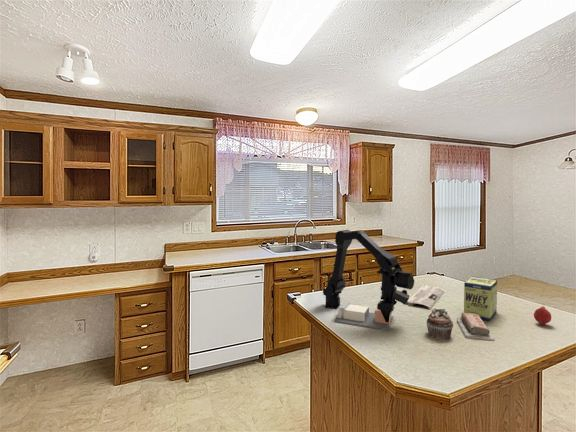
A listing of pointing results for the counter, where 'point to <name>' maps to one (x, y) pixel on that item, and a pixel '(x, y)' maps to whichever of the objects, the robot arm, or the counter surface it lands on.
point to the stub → (380, 317)
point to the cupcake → (439, 324)
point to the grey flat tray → (359, 317)
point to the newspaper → (426, 296)
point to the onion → (542, 315)
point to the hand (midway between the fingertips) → (388, 319)
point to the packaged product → (474, 327)
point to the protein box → (481, 297)
